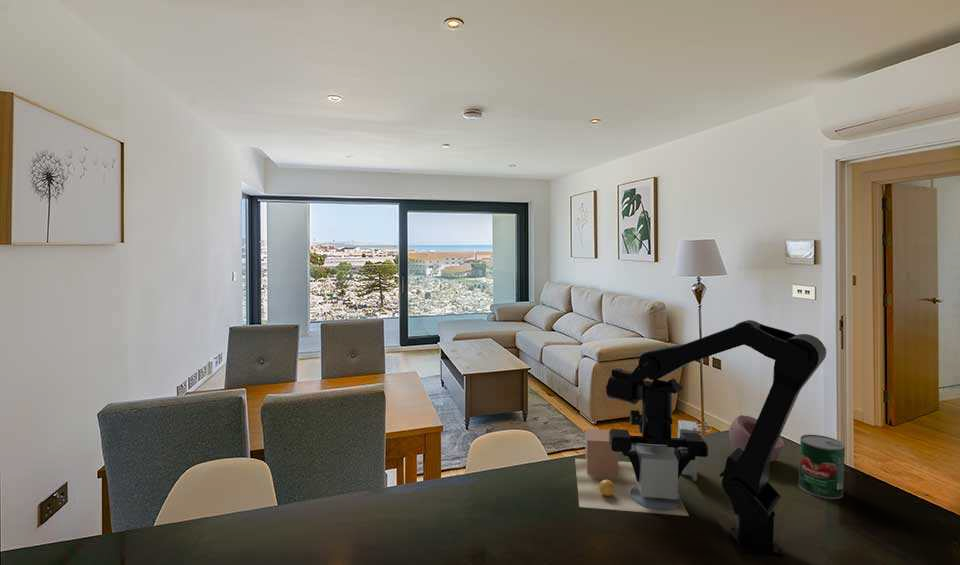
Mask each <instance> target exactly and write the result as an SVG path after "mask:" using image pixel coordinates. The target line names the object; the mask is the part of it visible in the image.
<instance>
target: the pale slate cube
mask: <svg viewBox="0 0 960 565" xmlns="http://www.w3.org/2000/svg"><path fill="white" fill-rule="evenodd" d="M636 451H637V453H638V461H639V473H640V475H639V482H638V481H637V479H636V476H635V480H636V483H637V486H638V488H639V491H640V494H641V497H653V498H666V499H678V495H679V479H678V460H677V458H676V456H675V454H674V450H673V449H672V447H654V446H637V445H636Z"/></svg>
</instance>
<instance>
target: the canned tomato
mask: <svg viewBox="0 0 960 565" xmlns="http://www.w3.org/2000/svg"><path fill="white" fill-rule="evenodd" d="M799 439H800V441H799V442H800V443H799V464H798V465H799V466H798V467H799V470H798V485H797V486H798V487H799V488H800V489H801V490H802V491H803V492H805V493H807V494H808V495H812V496H815V497H817V498H821V499H828V500H838V499H842V498H843V497H844V476H845V475H844V474H845V457H846V456H845V455H846V454H845V453H846V445H845V444H844V443H843V442H842V441H841V440H839V439H836V438H833V437H829V436H824V435H820V434H804V435H803V434H802V435H801V436H800V437H799Z"/></svg>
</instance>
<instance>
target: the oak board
mask: <svg viewBox="0 0 960 565" xmlns="http://www.w3.org/2000/svg"><path fill="white" fill-rule="evenodd" d="M574 459H575V460H574V461H575V462H574V464H575V472H576V484H577V497H578V498H577V499H578V505H579V506H578V507H579V508H584V509H585V508H586V509H599V510H611V511H622V512H623V511H624V512H633V513H634V512H635V513H646V514H647V513H648V514H659V515H670V516H672V515H673V516H681V517H682V516H683V517H685V516H686V517H690V515H689V513H688V511H687V510H686V507H685V505H684V504H683V500H682V498H681V497H680V495H679V494H678V499H666V498H653V497H641V494H640V491H639V488H638V486H637V483H636V480H635V473H634V469H633V466H632V463H631V461H619V460H618V476H615V475H600V474H587V469H586V462H585V458H574ZM603 480H610V481H611V482H612V483H613V484H614V487H615V490H614V493H613V494H612V495H610V496H605V495H603V494H602V493H601V492H600V489H599V484H600V482H601V481H603Z"/></svg>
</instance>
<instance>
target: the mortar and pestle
mask: <svg viewBox="0 0 960 565" xmlns="http://www.w3.org/2000/svg"><path fill="white" fill-rule="evenodd" d="M757 419H758V418H755V417H753V416H750V415H741V414H740V415H739V416H736V418H735V419H733V420H732V423H730V425H729V430H728V439H729V443H730V444H731V447H732V448H733V450H734V451H735V450H736V449H737V448H740V449H741V450H743V451H744V450H745V447H746V445H747V443H748V440H749V438H750V436H751V433H752V431H753V429H754V426H755V424H756V422H757ZM785 446H786V444H785V441H784V440H783V438H782V437H781V436H780V437H779V439H778V441H777V443H776V445H775V448H774V450H773V452H772V454H771V458H770V463H771V462H774V461H775V460H777V459H778V458H779V457H781V455H782V453H783V452H784V449H785Z"/></svg>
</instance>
